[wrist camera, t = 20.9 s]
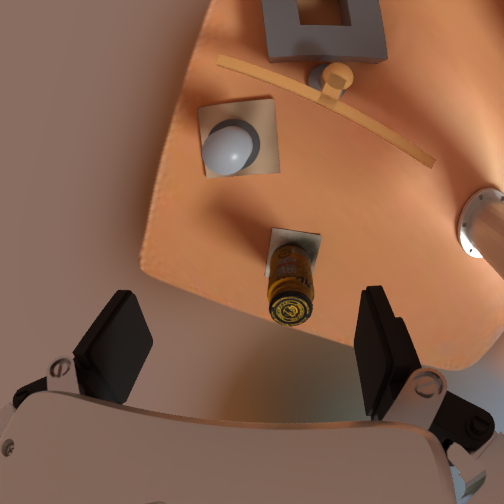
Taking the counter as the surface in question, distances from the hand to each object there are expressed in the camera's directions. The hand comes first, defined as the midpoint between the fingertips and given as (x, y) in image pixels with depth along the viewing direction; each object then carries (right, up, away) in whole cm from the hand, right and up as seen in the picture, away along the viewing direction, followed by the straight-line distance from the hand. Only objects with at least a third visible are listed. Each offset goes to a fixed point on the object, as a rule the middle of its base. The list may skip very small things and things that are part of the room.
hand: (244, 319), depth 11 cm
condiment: (+6, +2, +33) cm, 34 cm away
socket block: (+9, +31, +17) cm, 36 cm away
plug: (-1, +17, +24) cm, 30 cm away
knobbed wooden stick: (+10, +20, +15) cm, 27 cm away
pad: (-1, +18, +25) cm, 31 cm away
